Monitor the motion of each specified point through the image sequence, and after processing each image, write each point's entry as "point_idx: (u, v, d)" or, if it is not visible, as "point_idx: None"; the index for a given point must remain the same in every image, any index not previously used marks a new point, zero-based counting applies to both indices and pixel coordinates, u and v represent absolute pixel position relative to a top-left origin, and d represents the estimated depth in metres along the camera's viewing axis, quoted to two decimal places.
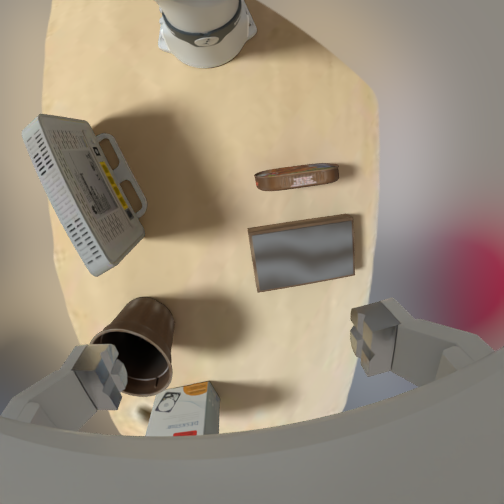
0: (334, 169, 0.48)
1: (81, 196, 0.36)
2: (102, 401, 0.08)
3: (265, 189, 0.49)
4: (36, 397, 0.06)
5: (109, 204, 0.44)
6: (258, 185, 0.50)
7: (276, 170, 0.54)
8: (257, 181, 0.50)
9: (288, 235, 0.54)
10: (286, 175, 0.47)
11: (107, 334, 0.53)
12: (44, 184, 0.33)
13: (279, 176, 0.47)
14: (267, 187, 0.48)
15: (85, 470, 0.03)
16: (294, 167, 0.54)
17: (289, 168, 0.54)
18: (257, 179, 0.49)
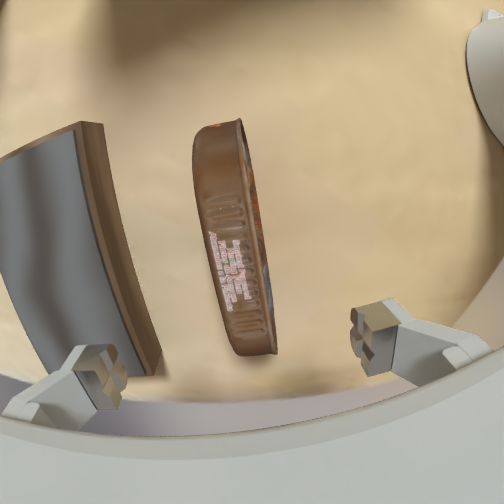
0: (270, 352, 0.17)
1: None
2: (102, 401, 0.08)
3: (197, 146, 0.14)
4: (36, 397, 0.06)
5: None
6: (210, 127, 0.15)
7: (251, 185, 0.21)
8: (223, 124, 0.15)
9: (80, 229, 0.17)
10: (249, 215, 0.13)
11: None
12: None
13: (245, 190, 0.13)
14: (203, 151, 0.13)
15: (85, 470, 0.03)
16: (259, 231, 0.22)
17: (256, 219, 0.22)
18: (229, 123, 0.15)
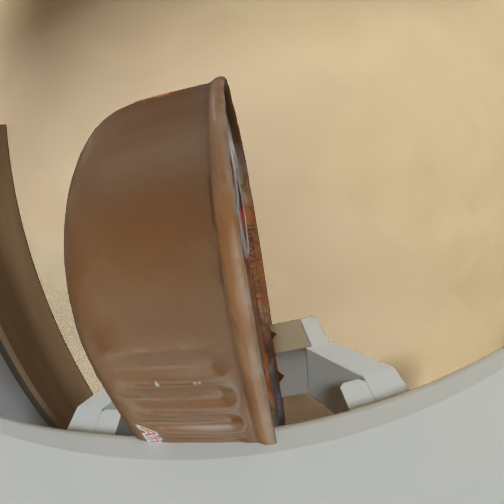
0: None
1: None
2: None
3: (84, 158, 0.04)
4: (112, 403, 0.06)
5: None
6: (141, 102, 0.05)
7: (249, 228, 0.11)
8: (176, 91, 0.05)
9: None
10: (255, 407, 0.04)
11: None
12: None
13: (240, 340, 0.03)
14: (95, 176, 0.04)
15: (85, 470, 0.03)
16: (264, 310, 0.12)
17: (259, 289, 0.12)
18: (194, 87, 0.05)
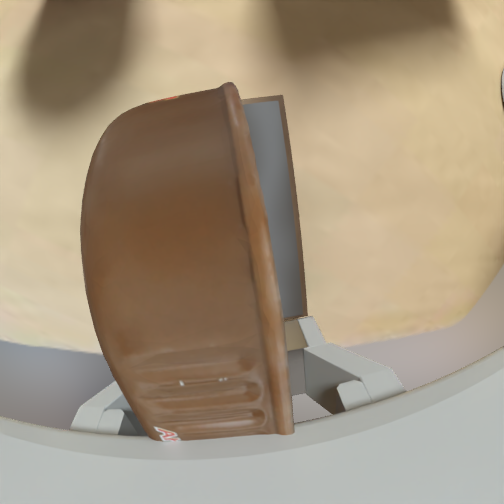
0: None
1: None
2: None
3: (99, 158, 0.04)
4: (114, 403, 0.06)
5: None
6: (150, 104, 0.05)
7: None
8: None
9: (277, 181, 0.23)
10: (278, 399, 0.04)
11: None
12: None
13: (269, 334, 0.03)
14: (115, 176, 0.04)
15: (85, 470, 0.03)
16: None
17: None
18: (204, 92, 0.05)
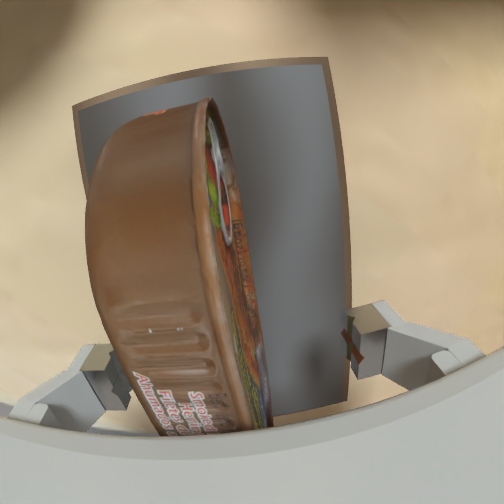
0: None
1: None
2: (111, 401, 0.08)
3: (100, 163, 0.05)
4: (44, 398, 0.06)
5: None
6: (143, 117, 0.06)
7: (237, 223, 0.12)
8: (171, 109, 0.06)
9: (321, 210, 0.13)
10: (223, 350, 0.05)
11: None
12: None
13: (209, 292, 0.05)
14: (110, 177, 0.05)
15: (85, 470, 0.03)
16: (251, 297, 0.13)
17: (246, 277, 0.13)
18: (185, 106, 0.06)
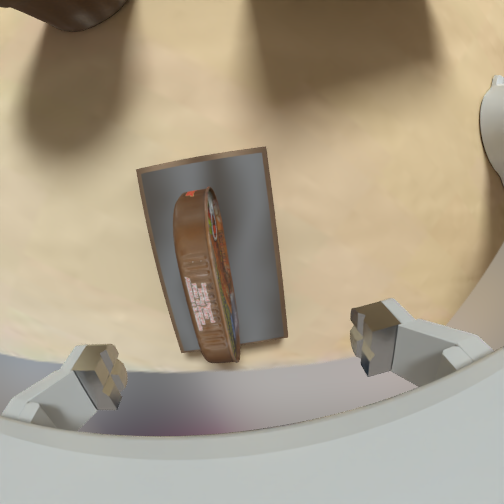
0: (232, 360, 0.23)
1: None
2: (102, 401, 0.08)
3: (176, 214, 0.20)
4: (36, 397, 0.06)
5: None
6: (186, 197, 0.21)
7: (220, 231, 0.27)
8: (195, 194, 0.21)
9: (260, 225, 0.27)
10: (212, 267, 0.19)
11: None
12: None
13: (209, 250, 0.19)
14: (181, 220, 0.19)
15: (85, 470, 0.03)
16: (227, 267, 0.28)
17: (225, 257, 0.28)
18: (200, 194, 0.21)
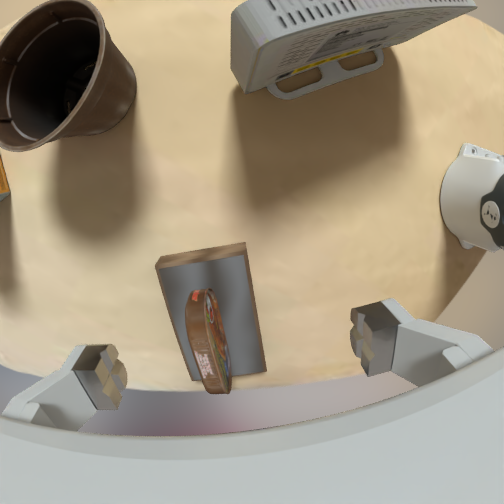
0: (224, 393, 0.35)
1: (373, 21, 0.17)
2: (102, 401, 0.08)
3: (186, 315, 0.32)
4: (36, 397, 0.06)
5: (321, 52, 0.24)
6: (192, 300, 0.33)
7: (216, 308, 0.39)
8: (198, 299, 0.33)
9: (244, 303, 0.39)
10: (210, 346, 0.31)
11: (85, 29, 0.22)
12: None
13: (208, 338, 0.31)
14: (190, 319, 0.31)
15: (85, 470, 0.03)
16: (222, 330, 0.40)
17: (220, 324, 0.39)
18: (201, 299, 0.33)
